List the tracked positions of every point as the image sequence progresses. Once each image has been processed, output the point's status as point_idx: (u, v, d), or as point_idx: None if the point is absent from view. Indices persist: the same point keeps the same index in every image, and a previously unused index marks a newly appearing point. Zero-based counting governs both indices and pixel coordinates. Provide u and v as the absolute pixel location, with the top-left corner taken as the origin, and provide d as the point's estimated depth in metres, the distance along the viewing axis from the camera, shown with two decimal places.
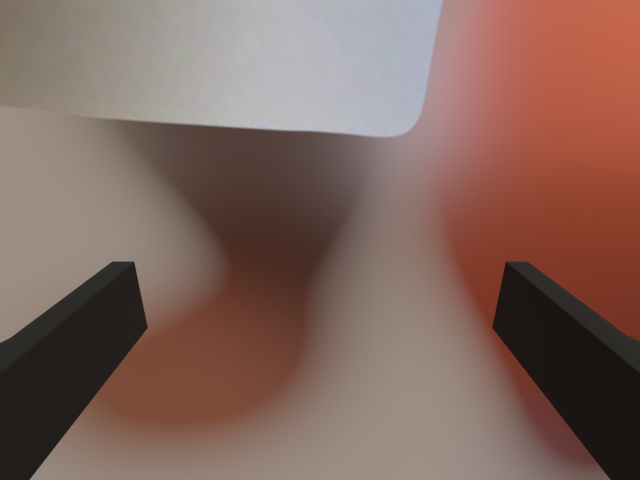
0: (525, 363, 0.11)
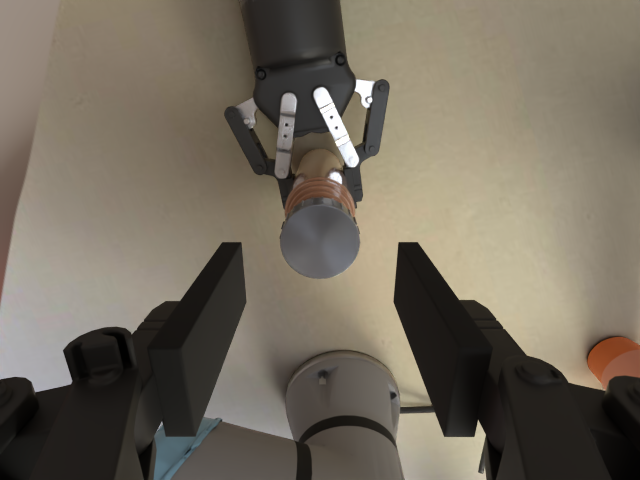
0: (405, 328, 0.13)
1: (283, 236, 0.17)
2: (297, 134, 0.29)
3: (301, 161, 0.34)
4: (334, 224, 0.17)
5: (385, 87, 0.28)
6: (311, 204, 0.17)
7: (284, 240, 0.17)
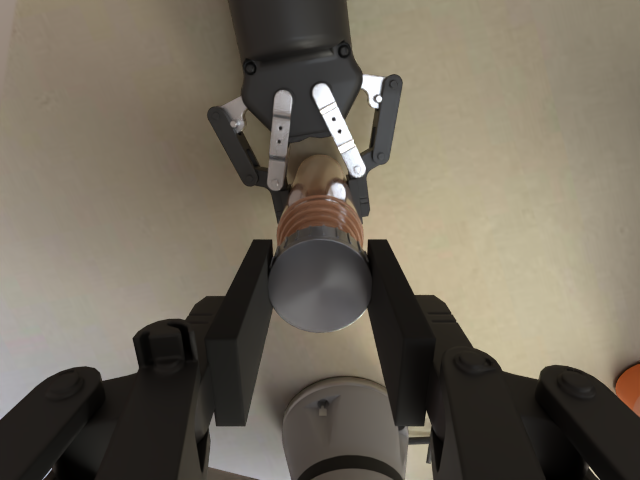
0: (372, 323, 0.13)
1: (271, 279, 0.13)
2: (294, 139, 0.25)
3: (298, 169, 0.30)
4: (339, 264, 0.13)
5: (397, 83, 0.24)
6: (309, 237, 0.13)
7: (272, 284, 0.13)
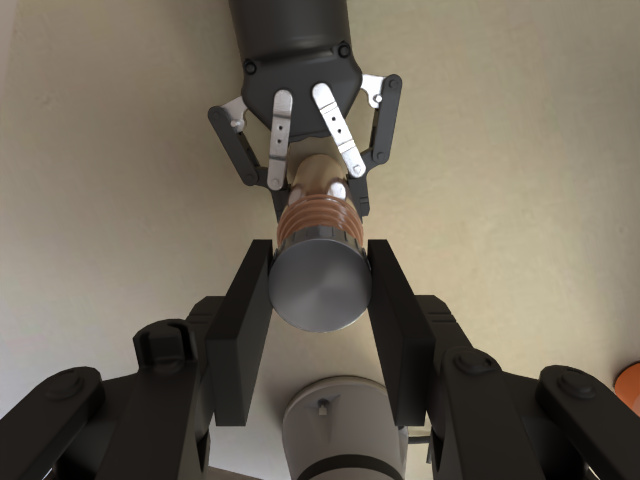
0: (372, 323, 0.13)
1: (326, 329, 0.14)
2: (294, 139, 0.25)
3: (298, 169, 0.30)
4: (288, 279, 0.13)
5: (397, 83, 0.24)
6: (277, 307, 0.14)
7: (331, 327, 0.14)
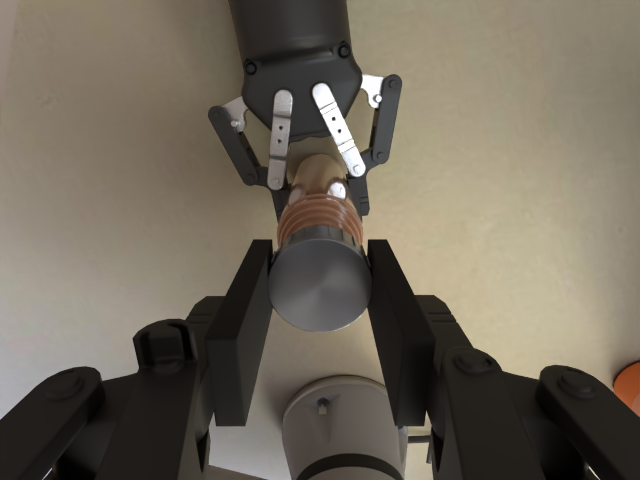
0: (372, 323, 0.13)
1: (365, 268, 0.13)
2: (294, 138, 0.25)
3: (298, 168, 0.30)
4: (321, 315, 0.14)
5: (397, 83, 0.24)
6: (358, 312, 0.14)
7: (360, 264, 0.13)
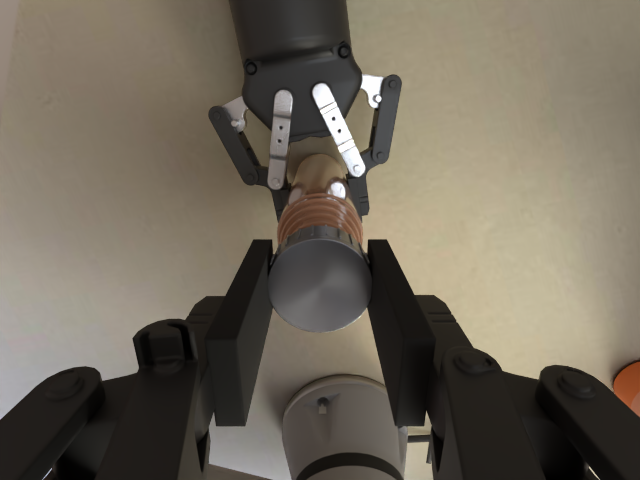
0: (372, 323, 0.13)
1: (283, 256, 0.13)
2: (294, 138, 0.25)
3: (298, 168, 0.30)
4: (350, 277, 0.13)
5: (397, 84, 0.24)
6: (339, 239, 0.13)
7: (281, 261, 0.13)
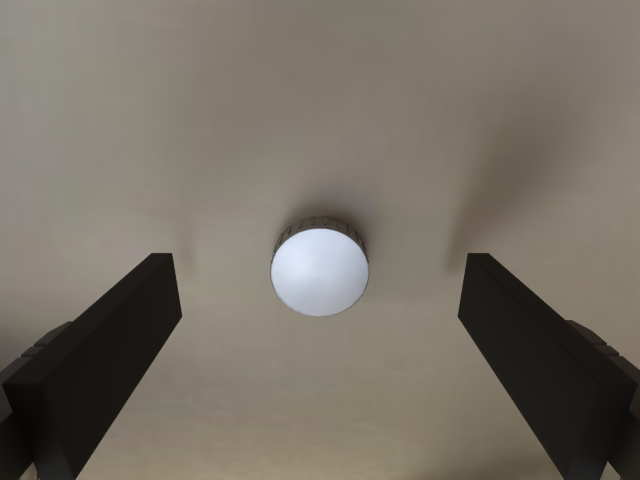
0: (482, 348, 0.12)
1: (285, 245, 0.14)
2: None
3: None
4: (348, 264, 0.14)
5: None
6: (337, 229, 0.14)
7: (283, 249, 0.14)
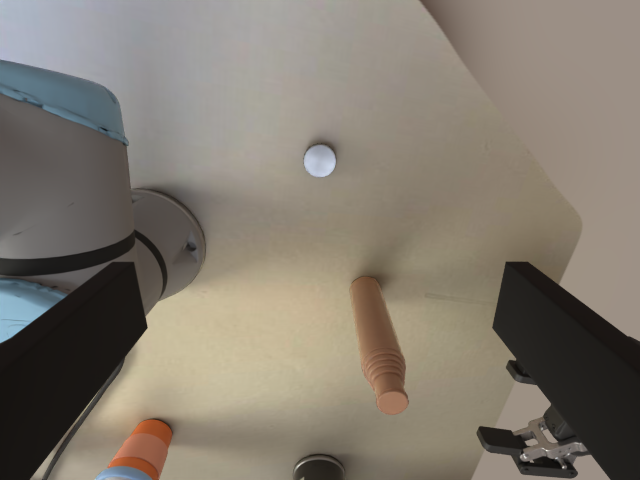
0: (525, 364, 0.11)
1: (309, 150, 0.43)
2: None
3: (381, 292, 0.48)
4: (329, 157, 0.43)
5: (571, 476, 0.36)
6: (325, 145, 0.43)
7: (308, 152, 0.43)
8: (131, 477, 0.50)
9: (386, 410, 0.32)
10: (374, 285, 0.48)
